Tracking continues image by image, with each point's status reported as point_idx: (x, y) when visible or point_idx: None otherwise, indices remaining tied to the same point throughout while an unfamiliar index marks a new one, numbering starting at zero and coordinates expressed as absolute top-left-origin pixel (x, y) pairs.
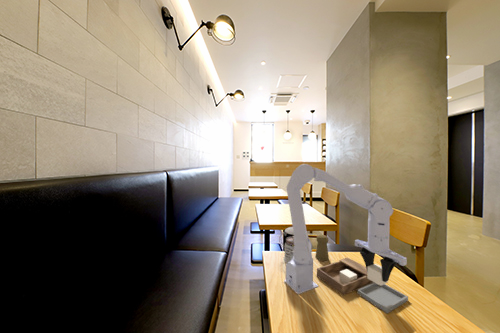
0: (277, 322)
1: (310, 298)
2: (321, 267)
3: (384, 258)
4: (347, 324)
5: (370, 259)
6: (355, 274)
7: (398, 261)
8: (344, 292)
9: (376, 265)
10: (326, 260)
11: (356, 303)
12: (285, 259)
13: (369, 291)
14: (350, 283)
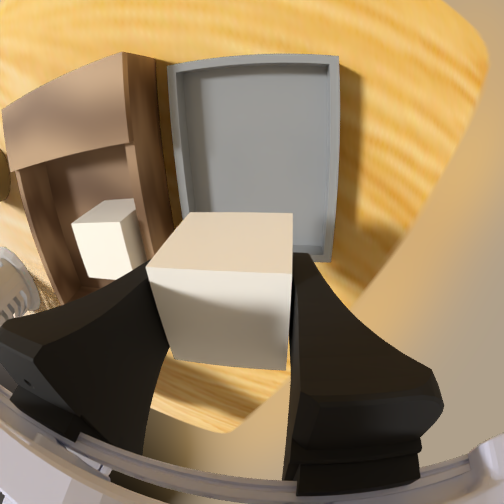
0: (217, 430)
1: (172, 371)
2: (56, 290)
3: (287, 478)
4: (281, 371)
5: (136, 365)
6: (116, 227)
7: (441, 483)
8: None
9: (179, 289)
10: (4, 175)
11: None
12: (19, 307)
13: (202, 180)
14: None
